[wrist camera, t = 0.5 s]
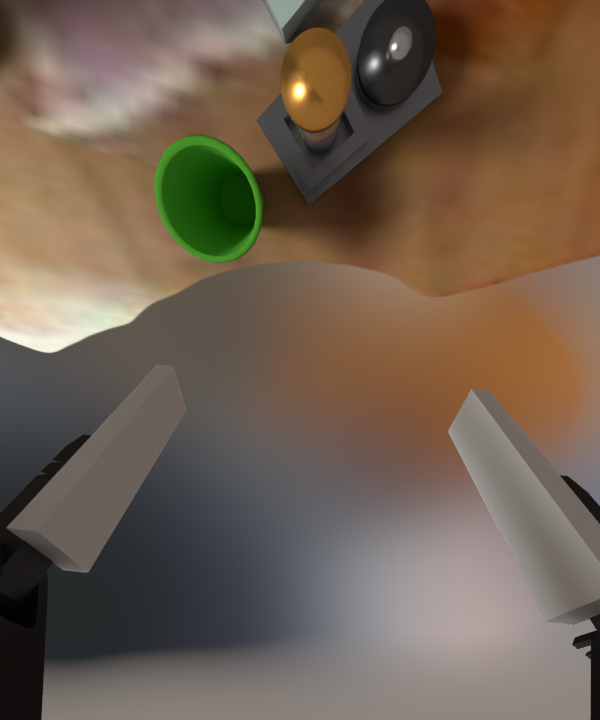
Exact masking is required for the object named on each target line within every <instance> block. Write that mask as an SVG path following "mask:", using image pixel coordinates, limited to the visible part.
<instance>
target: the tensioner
mask: <svg viewBox="0 0 600 720" xmlns="http://www.w3.org/2000/svg"><path fill="white" fill-rule="evenodd" d="M335 35H337V37H338V38H339V39H340V40H341V41H342V43H343V44H344V46H345V48H346V50H347V53H348V56H349V60H350V65H351V87H350V92H349V96H348V100H347V104H346V107H345V109H344V111H343V113H342V115H341V117H340V121H339V125H338V130H337V134H336V139H335V141H334V144H333V145H332V147H331V148H330V149H329V150H328V151H326V152H325V153H322V154H316V153H313V152H311V151H310V150H309V149H308V148H307V146H306V145H305V143H304V140H303V138H302V136H301V133H300V131H299V128H298V126H297V125H296V124H295V123H294V122H293V120H292V119H291V117H290V115H289V113H288V111H287V109H286V107H285V104H284V102H283V98H282V93H281V94H280V95H279V96H278V97H277V98H276V99H275V101H274V102H273V103H272V104H271V105H270V106H269V107H268V108H267V109H266V111H265V112H264V113H263V114H262V115H261V116H260V117H259V118H258V119H257V122H258V123H259V125H260V127H261V128H262V130H263V131H264V133H265V135H266V136H267V138H268V140H269V141H270V143H271V145H272V146H273V148H274V149H275V151H276V153H277V154H278V156H279V158H280V159H281V161H282V163H283V164H284V166H285V167H286V169H287V171H288V172H289V174H290V176H291V177H292V179H293V181H294V182H295V184H296V185H297V187H298V189H299V190H300V192H301V194H302V195H303V197H304V198H305V200H306V202H307V203H308V205H310V204H311V203H312V202H314V201H315V200H316V199H317V198H318V197H320V196H321V195H322V194H323V193H324V192H325V191H327V190H328V189H329V188H330V187H331V186H333V185H334V184H335V183H336V182H337V181H339V180H340V179H341V178H342V177H343V176H344V175H346V174H347V173H348V172H349V171H350V170H352V169H353V168H354V167H355V166H356V165H357V164H359V163H360V162H361V161H362V160H363V159H365V158H366V157H367V156H368V155H369V154H370V153H372V152H373V151H374V150H375V149H376V148H378V147H379V146H380V145H381V144H382V143H383V142H385V141H386V140H387V139H388V138H389V137H391V136H392V135H393V134H394V133H395V132H396V131H398V130H399V129H400V128H401V127H402V126H404V125H405V124H406V123H407V122H408V121H410V120H411V119H412V118H413V117H414V116H415V115H417V114H418V113H419V112H420V111H421V110H423V109H424V108H425V107H426V106H427V105H428V104H430V103H431V102H432V101H433V100H434V99H436V98H437V97H438V96H439V95H440V94H441V93H443V92H442V89H441V86H440V83H439V80H438V77H437V74H436V70H435V67H434V64H433V61H432V59H433V55H434V50H435V44H436V28H435V21H434V17H433V14H432V11H431V9H430V7H429V6H428V4H427V3H426V2H425V0H365V1H364V2H363V3H362V4H361V5H360V6H359V8H358V9H357V10H356V11H355V12H354V13H353V14H352V15H351V16H350V17H349V19H348V20H347V21H346V22H345V23H344V24H343V25H342V26H341V27H340V29H339V30H338V31H337V32H336V33H335Z"/></svg>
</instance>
